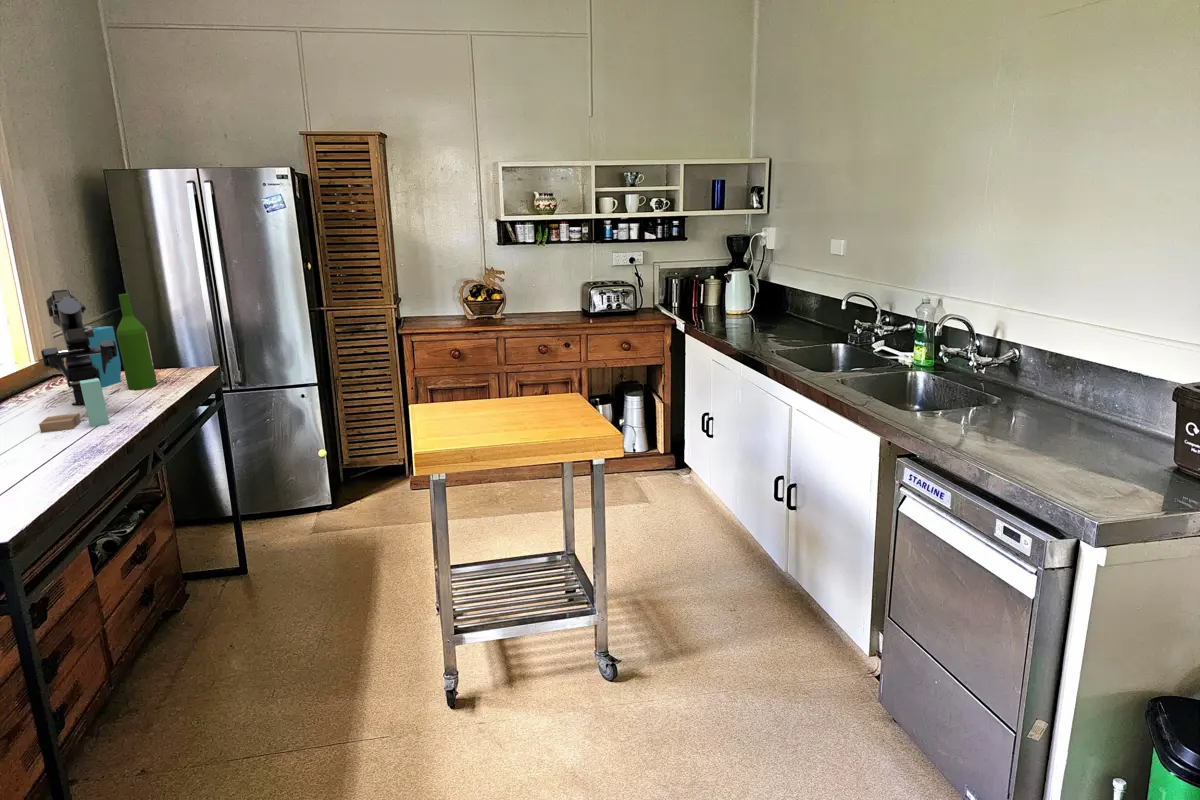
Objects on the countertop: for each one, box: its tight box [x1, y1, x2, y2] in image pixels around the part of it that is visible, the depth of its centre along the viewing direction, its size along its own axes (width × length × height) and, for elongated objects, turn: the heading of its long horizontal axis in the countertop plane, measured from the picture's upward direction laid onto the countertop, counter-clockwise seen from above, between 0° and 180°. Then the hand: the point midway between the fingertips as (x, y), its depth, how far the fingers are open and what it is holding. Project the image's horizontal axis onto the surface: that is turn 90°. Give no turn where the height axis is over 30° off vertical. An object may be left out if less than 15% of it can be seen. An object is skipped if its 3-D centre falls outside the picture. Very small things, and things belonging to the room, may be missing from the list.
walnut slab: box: [38, 412, 82, 434], centre depth 224 cm, size 8×8×3 cm
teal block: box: [80, 378, 110, 428], centre depth 224 cm, size 5×5×13 cm
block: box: [89, 325, 122, 388], centre depth 274 cm, size 12×5×20 cm, turn 164°
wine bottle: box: [116, 293, 158, 391], centre depth 266 cm, size 9×9×32 cm
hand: (86, 375), depth 229 cm, fingers open, 9 cm apart
